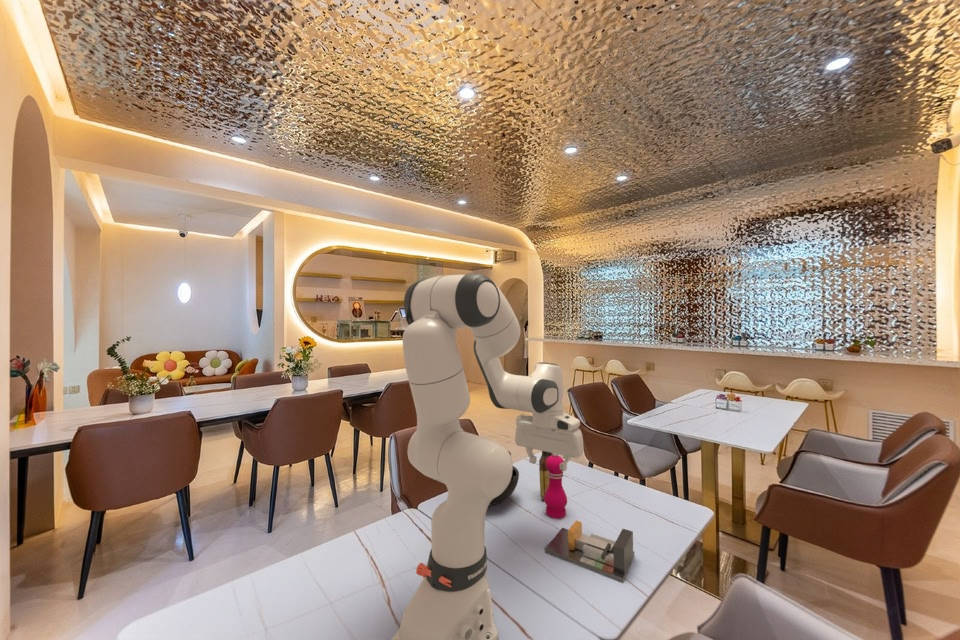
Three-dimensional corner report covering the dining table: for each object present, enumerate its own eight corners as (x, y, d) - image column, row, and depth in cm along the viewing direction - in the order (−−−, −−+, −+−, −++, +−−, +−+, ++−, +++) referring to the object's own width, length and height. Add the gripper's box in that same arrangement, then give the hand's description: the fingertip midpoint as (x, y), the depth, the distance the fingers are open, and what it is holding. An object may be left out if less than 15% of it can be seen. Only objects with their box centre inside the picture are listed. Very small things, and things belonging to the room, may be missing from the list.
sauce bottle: (561, 498, 127) (561, 441, 127) (552, 504, 122) (551, 445, 123) (545, 492, 132) (545, 437, 132) (536, 498, 127) (535, 441, 127)
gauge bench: (622, 582, 86) (622, 552, 86) (544, 552, 97) (544, 526, 97) (634, 555, 96) (634, 528, 96) (562, 530, 107) (562, 507, 107)
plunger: (605, 570, 88) (605, 550, 88) (563, 554, 94) (563, 536, 94) (615, 551, 96) (615, 532, 96) (576, 537, 102) (576, 520, 102)
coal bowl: (527, 494, 130) (526, 441, 130) (505, 522, 112) (504, 461, 112) (477, 483, 139) (477, 434, 139) (450, 508, 121) (449, 451, 121)
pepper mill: (569, 519, 113) (568, 455, 113) (546, 519, 113) (545, 455, 114) (564, 507, 121) (564, 447, 121) (542, 507, 121) (542, 447, 121)
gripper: (511, 415, 109) (511, 461, 109) (577, 426, 97) (577, 478, 97) (521, 411, 114) (521, 455, 114) (585, 421, 102) (585, 471, 102)
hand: (547, 466), depth 105 cm, fingers open, 8 cm apart
